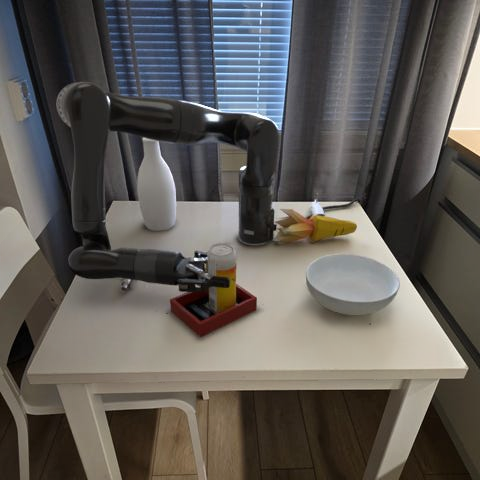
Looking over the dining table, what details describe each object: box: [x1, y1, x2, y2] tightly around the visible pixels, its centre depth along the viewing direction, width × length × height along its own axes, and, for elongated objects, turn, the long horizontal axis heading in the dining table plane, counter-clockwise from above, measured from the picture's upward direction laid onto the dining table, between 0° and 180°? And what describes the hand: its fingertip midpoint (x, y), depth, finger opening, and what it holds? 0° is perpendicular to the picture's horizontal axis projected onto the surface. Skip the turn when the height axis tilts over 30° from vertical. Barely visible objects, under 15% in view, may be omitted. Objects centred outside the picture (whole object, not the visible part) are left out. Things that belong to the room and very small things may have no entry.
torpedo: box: [308, 193, 326, 217], centre depth 139 cm, size 18×5×6 cm, turn 0°
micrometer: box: [120, 279, 134, 292], centre depth 113 cm, size 15×7×2 cm, turn 177°
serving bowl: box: [305, 253, 401, 316], centre depth 103 cm, size 21×21×7 cm
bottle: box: [136, 137, 177, 232], centre depth 129 cm, size 11×11×25 cm
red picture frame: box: [169, 283, 258, 338], centre depth 101 cm, size 16×12×4 cm
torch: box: [273, 208, 358, 245], centre depth 128 cm, size 8×8×25 cm
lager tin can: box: [207, 242, 237, 314], centre depth 99 cm, size 6×6×15 cm
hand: (232, 274), depth 97 cm, fingers closed on lager tin can, 6 cm apart
